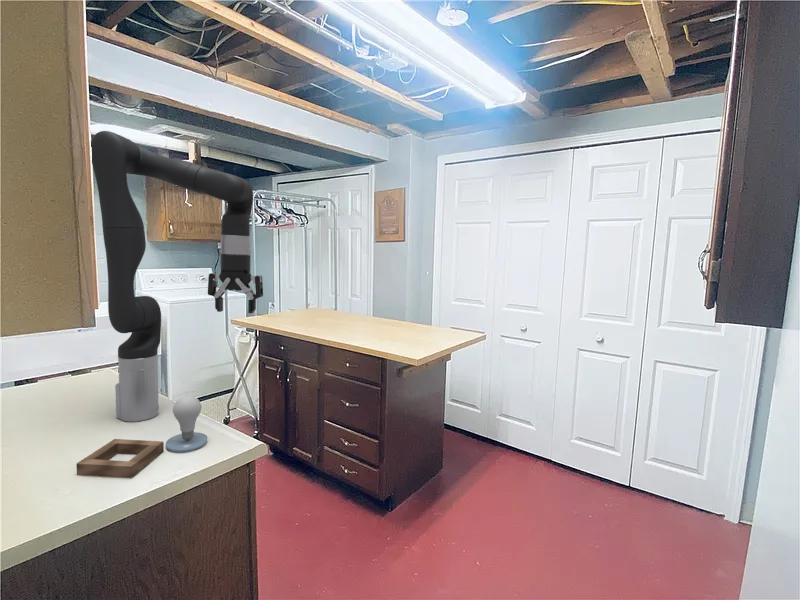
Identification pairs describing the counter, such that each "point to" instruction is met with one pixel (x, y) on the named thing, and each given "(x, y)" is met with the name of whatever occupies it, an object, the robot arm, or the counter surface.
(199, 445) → the pad
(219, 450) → the counter surface
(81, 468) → the frame
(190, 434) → the lightbulb
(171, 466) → the counter surface
